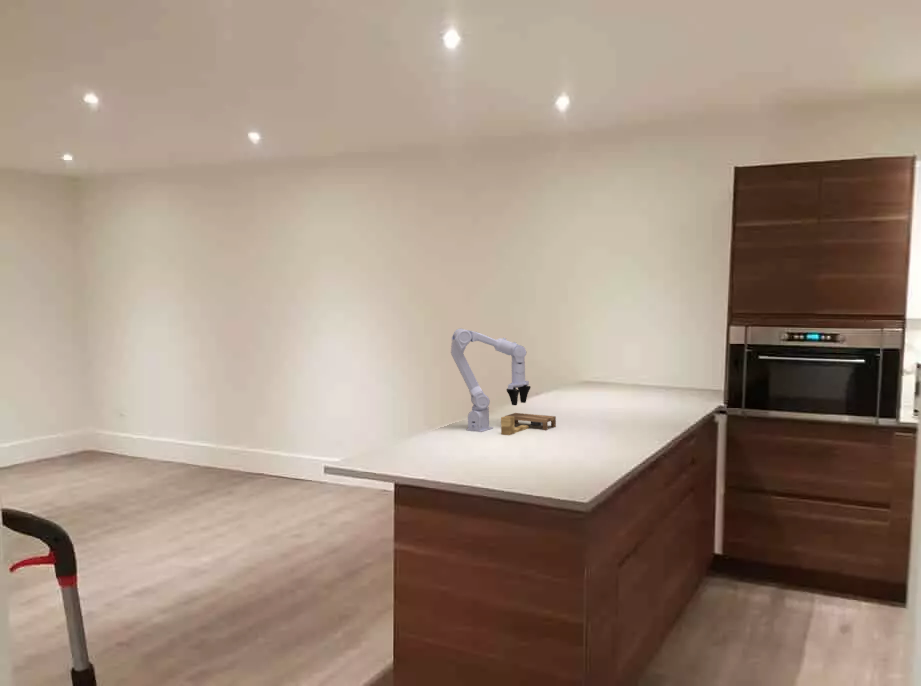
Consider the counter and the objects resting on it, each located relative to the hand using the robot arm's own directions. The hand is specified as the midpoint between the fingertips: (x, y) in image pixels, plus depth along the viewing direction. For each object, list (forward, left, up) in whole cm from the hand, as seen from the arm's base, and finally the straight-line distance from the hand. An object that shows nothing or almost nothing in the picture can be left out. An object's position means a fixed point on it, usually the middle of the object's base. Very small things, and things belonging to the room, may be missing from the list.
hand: (518, 403), depth 323 cm
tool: (-9, -4, -10) cm, 14 cm away
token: (+9, -4, -10) cm, 15 cm away
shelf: (+2, -4, -10) cm, 11 cm away
